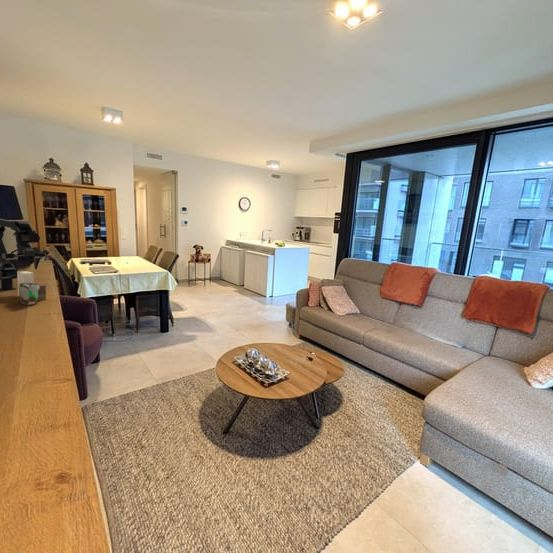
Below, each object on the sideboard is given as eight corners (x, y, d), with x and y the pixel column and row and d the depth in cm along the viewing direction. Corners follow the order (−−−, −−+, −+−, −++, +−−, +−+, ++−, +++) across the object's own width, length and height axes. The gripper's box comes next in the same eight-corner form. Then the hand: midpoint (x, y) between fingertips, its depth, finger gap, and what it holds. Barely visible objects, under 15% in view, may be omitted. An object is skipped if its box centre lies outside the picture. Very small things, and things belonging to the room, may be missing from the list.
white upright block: (18, 296, 165) (17, 271, 163) (26, 295, 169) (25, 271, 167) (25, 299, 162) (24, 273, 160) (34, 297, 165) (33, 272, 163)
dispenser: (19, 301, 157) (18, 286, 156) (41, 298, 165) (41, 284, 164) (23, 302, 154) (23, 287, 153) (46, 299, 163) (45, 285, 162)
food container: (44, 304, 154) (43, 285, 152) (29, 306, 148) (29, 286, 147) (34, 300, 160) (33, 281, 159) (19, 301, 155) (19, 282, 153)
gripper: (8, 243, 159) (12, 272, 161) (48, 242, 175) (51, 269, 177) (-1, 243, 164) (3, 271, 166) (39, 242, 180) (42, 268, 182)
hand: (26, 270), depth 173 cm, fingers open, 9 cm apart
